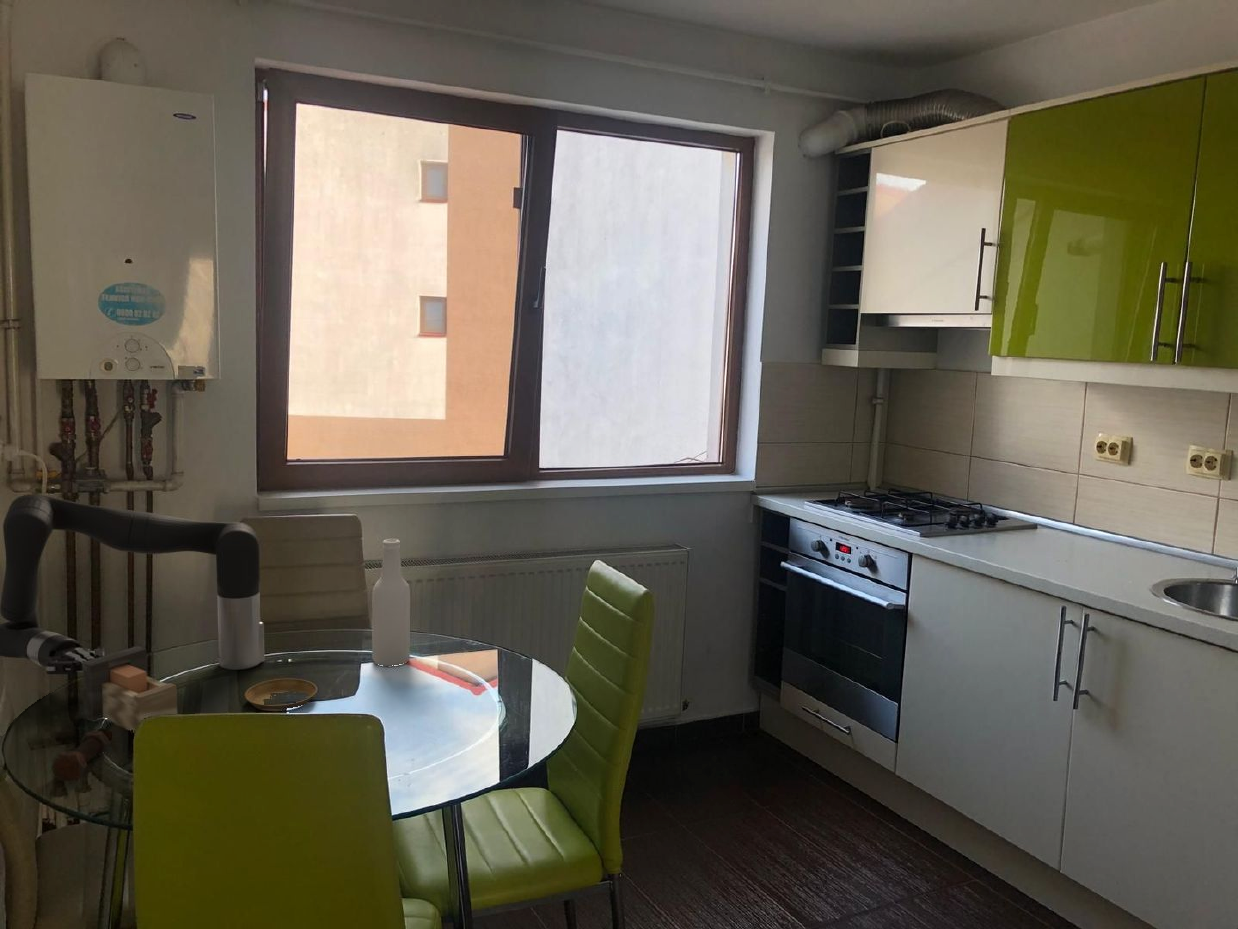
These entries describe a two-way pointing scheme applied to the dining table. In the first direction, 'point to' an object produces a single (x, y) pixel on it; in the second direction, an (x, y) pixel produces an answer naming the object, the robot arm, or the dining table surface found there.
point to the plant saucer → (279, 686)
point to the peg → (128, 677)
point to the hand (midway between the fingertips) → (99, 669)
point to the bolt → (81, 755)
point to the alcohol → (391, 610)
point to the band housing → (124, 691)
